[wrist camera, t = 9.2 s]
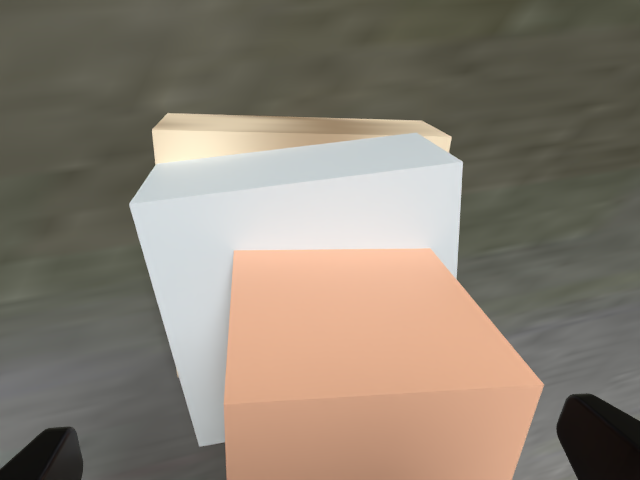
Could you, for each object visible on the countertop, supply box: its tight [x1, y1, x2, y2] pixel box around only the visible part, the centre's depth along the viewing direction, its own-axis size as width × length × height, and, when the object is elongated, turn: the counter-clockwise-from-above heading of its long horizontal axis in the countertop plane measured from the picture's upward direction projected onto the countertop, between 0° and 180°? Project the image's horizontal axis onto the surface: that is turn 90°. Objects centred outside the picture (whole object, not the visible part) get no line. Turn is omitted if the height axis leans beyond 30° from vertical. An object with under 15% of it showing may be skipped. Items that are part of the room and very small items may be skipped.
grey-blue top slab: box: [129, 133, 463, 447], centre depth 12 cm, size 7×7×3 cm
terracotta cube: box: [224, 248, 544, 480], centre depth 9 cm, size 4×4×4 cm
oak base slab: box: [152, 113, 451, 377], centre depth 15 cm, size 8×8×3 cm
